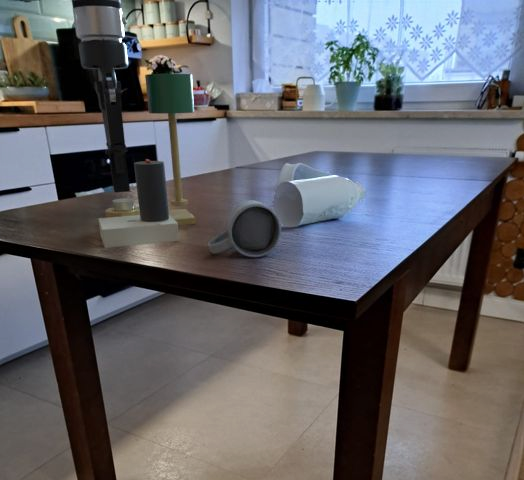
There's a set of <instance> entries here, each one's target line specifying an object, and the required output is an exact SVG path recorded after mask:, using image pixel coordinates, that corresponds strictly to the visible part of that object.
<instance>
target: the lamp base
mask: <svg viewBox="0 0 524 480" xmlns="http://www.w3.org/2000/svg"><path fill="white" fill-rule="evenodd" d="M133 207H134V210H131V211H123V212H117V211H114V208H113V206H112V207H109V208H106V209H105V218H110V217H123V216H135V215H140V211H139V206H137V205H133ZM168 210H169V209H168ZM169 215H170V216H171V217H172V218H173V216H181V217H177V218H173V219H174V220H175V221H176V222H177V223H178V226H186V225H187V226H188V225H189V226H190V225H196V223H197V222H196V217H195V216H194V215H193V214H192V213H191V212H190V211H189V210H187V209H186V208H181V209H180V208H179V209H170V210H169Z"/></svg>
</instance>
